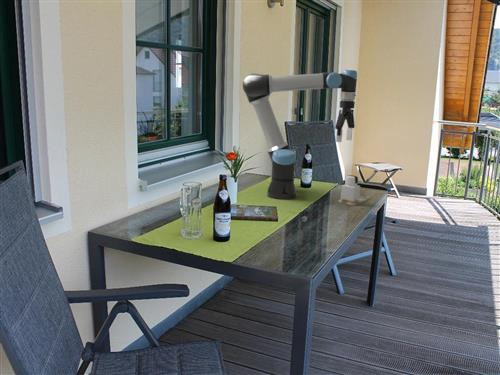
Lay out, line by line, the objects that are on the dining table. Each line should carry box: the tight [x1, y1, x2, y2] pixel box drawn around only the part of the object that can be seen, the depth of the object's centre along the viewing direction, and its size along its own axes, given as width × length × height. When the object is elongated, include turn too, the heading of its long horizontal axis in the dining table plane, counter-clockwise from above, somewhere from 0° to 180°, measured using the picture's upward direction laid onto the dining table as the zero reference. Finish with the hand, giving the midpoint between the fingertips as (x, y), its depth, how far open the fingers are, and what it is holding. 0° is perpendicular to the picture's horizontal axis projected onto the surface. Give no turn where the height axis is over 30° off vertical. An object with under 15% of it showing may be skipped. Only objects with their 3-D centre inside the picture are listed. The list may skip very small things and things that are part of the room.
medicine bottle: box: [339, 174, 361, 201], centre depth 247 cm, size 7×7×12 cm
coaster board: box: [337, 193, 370, 207], centre depth 253 cm, size 9×20×2 cm, turn 147°
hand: (343, 141), depth 262 cm, fingers open, 13 cm apart
